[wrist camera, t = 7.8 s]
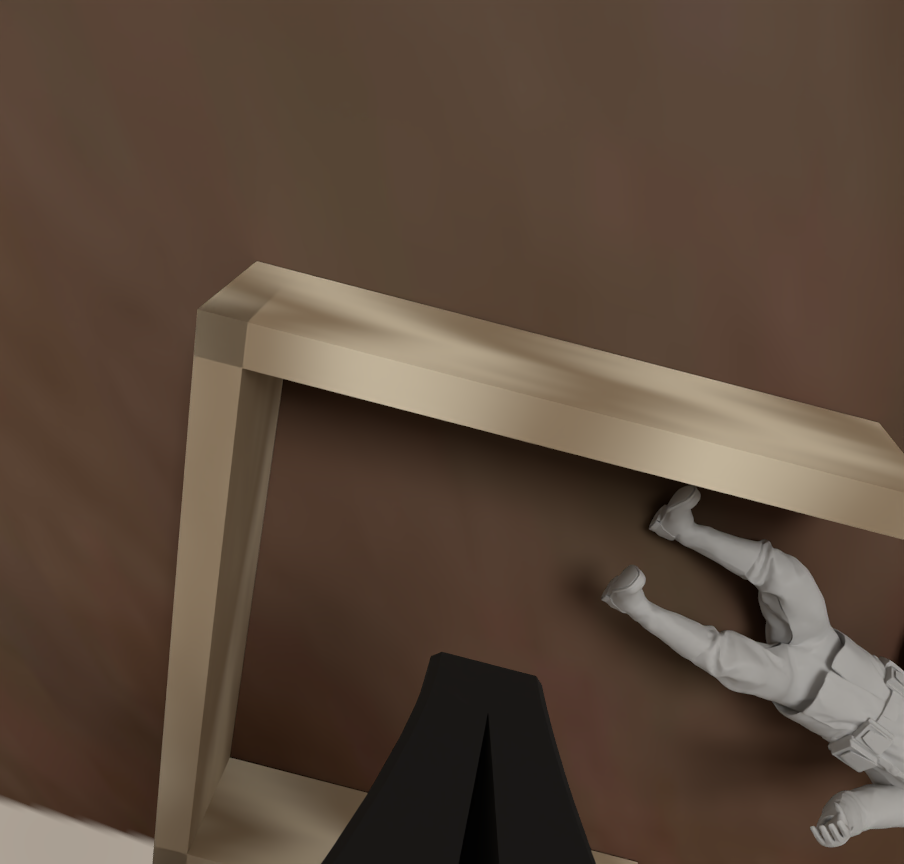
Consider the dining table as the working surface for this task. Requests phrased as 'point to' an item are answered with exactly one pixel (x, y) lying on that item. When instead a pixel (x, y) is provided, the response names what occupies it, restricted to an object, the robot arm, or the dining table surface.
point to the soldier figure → (789, 665)
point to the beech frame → (450, 399)
